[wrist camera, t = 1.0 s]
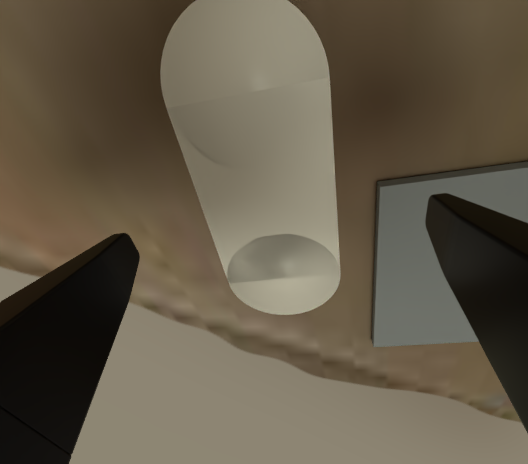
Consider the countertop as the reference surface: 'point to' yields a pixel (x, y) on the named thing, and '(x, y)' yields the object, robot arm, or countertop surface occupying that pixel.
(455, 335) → the mat
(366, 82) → the countertop surface
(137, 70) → the countertop surface
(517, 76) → the countertop surface
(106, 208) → the countertop surface
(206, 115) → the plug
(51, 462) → the robot arm
